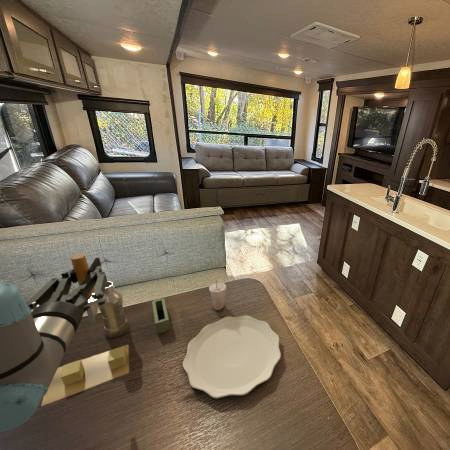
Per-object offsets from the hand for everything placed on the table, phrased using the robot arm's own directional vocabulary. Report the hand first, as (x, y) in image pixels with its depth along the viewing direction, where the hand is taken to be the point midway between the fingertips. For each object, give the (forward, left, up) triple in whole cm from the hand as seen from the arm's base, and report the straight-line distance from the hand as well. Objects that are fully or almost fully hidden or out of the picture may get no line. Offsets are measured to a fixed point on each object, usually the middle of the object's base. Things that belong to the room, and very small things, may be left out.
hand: (90, 263), depth 64 cm
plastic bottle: (-8, +1, -33) cm, 34 cm away
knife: (+5, -1, -12) cm, 13 cm away
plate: (+18, +31, -33) cm, 49 cm away
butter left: (+5, -9, -31) cm, 33 cm away
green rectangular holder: (-7, +13, -33) cm, 36 cm away
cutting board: (+5, -6, -33) cm, 33 cm away
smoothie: (-6, +33, -33) cm, 47 cm away
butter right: (+5, +1, -31) cm, 32 cm away
